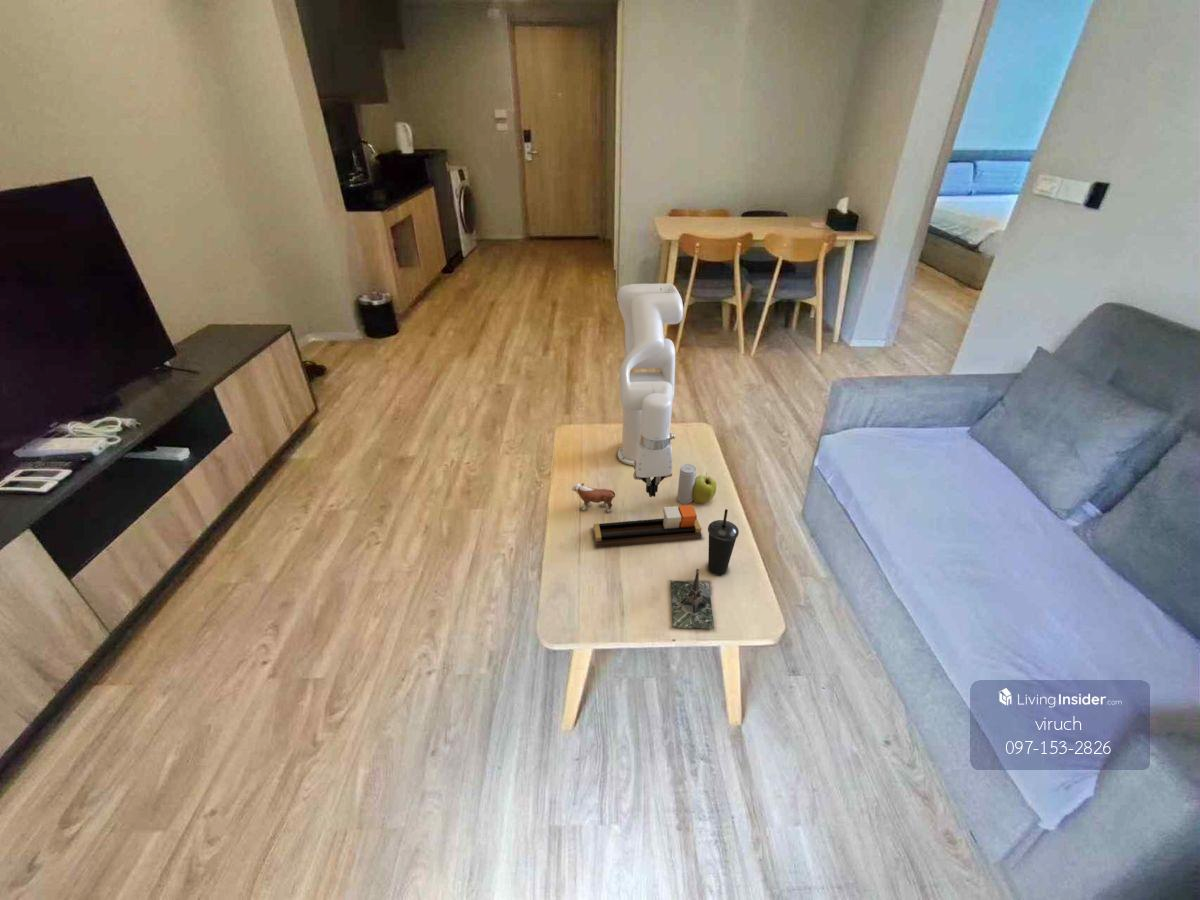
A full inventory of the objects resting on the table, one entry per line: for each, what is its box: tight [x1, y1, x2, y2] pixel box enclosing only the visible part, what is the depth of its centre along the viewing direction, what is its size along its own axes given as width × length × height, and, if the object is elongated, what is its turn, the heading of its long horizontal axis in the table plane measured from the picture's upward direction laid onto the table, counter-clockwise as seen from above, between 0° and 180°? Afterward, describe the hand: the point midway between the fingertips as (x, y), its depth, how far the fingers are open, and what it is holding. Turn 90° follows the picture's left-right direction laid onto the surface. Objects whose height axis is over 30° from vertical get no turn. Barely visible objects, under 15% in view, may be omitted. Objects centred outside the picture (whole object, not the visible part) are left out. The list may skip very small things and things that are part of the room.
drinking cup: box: [707, 508, 740, 576], centre depth 137 cm, size 8×8×20 cm
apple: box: [693, 472, 717, 505], centre depth 165 cm, size 8×8×10 cm
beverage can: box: [677, 463, 697, 505], centre depth 164 cm, size 5×5×12 cm
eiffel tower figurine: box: [669, 568, 715, 629], centre depth 129 cm, size 15×10×13 cm
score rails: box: [593, 517, 702, 541], centre depth 153 cm, size 6×30×2 cm, turn 97°
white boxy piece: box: [662, 505, 681, 529], centre depth 152 cm, size 5×4×6 cm
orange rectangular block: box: [678, 504, 698, 528], centre depth 153 cm, size 5×4×6 cm
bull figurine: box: [571, 482, 616, 513], centre depth 162 cm, size 4×13×8 cm, turn 78°
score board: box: [592, 524, 702, 549], centre depth 154 cm, size 8×30×2 cm, turn 97°
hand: (651, 493), depth 151 cm, fingers closed
